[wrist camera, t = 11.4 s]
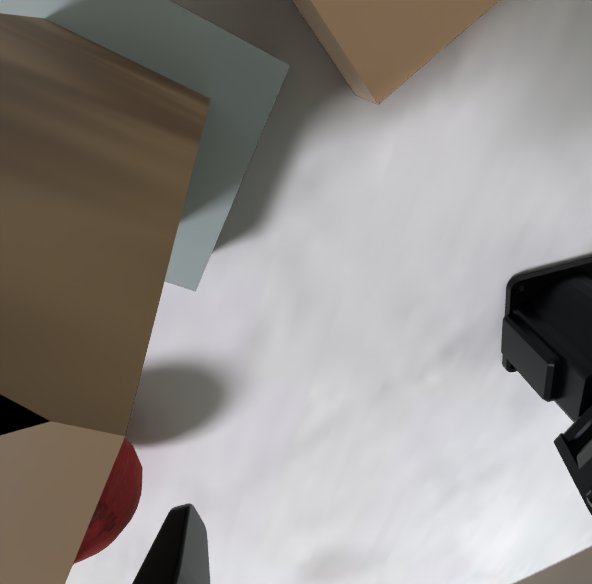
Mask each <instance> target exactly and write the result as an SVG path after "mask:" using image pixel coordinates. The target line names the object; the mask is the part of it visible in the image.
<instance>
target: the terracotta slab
mask: <svg viewBox="0 0 592 584" xmlns="http://www.w3.org/2000/svg"><path fill="white" fill-rule="evenodd" d="M292 1H293V2H294V4H295V5H296V7H297V8H298V10H299V11H300V13H301V14H302V16H303V17H304V19H305V20H306V22H307V23H308V25H309V26H310V28H311V29H312V31H313V32H314V34H315V35H316V37H317V38H318V40H319V41H320V43H321V44H322V46H323V47H324V49H325V50H326V51H327V53H328V54H329V56H330V57H331V59H332V60H333V62H334V63H335V65H336V66H337V68H338V69H339V71H340V72H341V74H342V75H343V77H344V78H345V80H346V81H347V83H348V84H349V86H350V87H351V89H352V90H353V92H354V93H355V95H357V96H359V97H361V98H364V99H366V100H368V101H371V102H373V103H375V104H379V103H380V102H382V101H383V100H384V99H385V98H386V97H387V96H389V95H390V94H391V93H392V92H393V91H394V90H396V89H397V88H398V87H399V86H400V85H401V84H402V83H404V82H405V81H406V80H407V79H408V78H409V77H411V76H412V75H413V74H414V73H415V72H416V71H418V70H419V69H420V68H421V67H422V66H423V65H425V64H426V63H427V62H428V61H429V60H430V59H432V58H433V57H434V56H435V55H436V54H437V53H439V52H440V51H441V50H442V49H443V48H444V47H446V46H447V45H448V44H449V43H450V42H451V41H452V40H454V39H455V38H456V37H457V36H458V35H459V34H461V33H462V32H463V31H464V30H465V29H466V28H468V27H469V26H470V25H471V24H472V23H473V22H475V21H476V20H477V19H478V18H479V17H480V16H482V15H483V14H484V13H485V12H486V11H487V10H489V9H490V8H491V7H492V6H493V5H494V4H495V3H497V2H498V1H499V0H292Z"/></svg>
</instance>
